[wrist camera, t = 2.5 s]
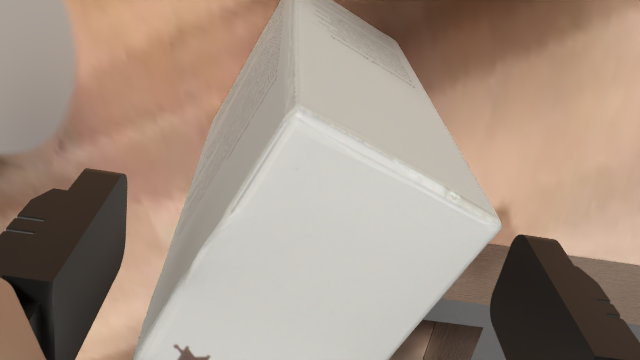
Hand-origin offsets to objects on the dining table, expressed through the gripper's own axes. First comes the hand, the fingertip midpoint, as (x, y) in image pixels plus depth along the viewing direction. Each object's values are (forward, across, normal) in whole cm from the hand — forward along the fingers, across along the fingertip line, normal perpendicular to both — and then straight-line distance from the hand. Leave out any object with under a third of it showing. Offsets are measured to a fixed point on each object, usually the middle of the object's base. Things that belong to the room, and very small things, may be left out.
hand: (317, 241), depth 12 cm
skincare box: (+10, 0, 0) cm, 10 cm away
